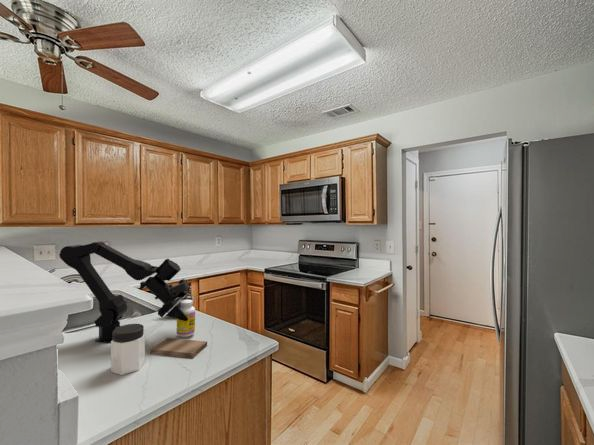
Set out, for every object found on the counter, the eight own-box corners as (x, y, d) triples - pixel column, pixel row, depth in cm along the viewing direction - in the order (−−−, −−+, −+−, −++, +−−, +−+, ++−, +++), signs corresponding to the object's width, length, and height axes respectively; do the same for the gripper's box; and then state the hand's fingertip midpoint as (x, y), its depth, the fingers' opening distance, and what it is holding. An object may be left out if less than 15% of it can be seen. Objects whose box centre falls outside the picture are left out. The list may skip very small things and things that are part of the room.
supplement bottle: (190, 338, 104) (190, 304, 103) (173, 337, 104) (173, 303, 104) (197, 330, 110) (198, 299, 110) (181, 330, 111) (182, 298, 110)
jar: (105, 371, 82) (105, 331, 82) (130, 358, 90) (130, 321, 90) (126, 377, 79) (126, 336, 79) (150, 363, 86) (150, 325, 86)
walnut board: (150, 353, 93) (150, 349, 93) (167, 341, 102) (167, 337, 102) (193, 358, 90) (193, 353, 90) (207, 345, 99) (207, 341, 99)
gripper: (167, 279, 97) (199, 310, 98) (183, 269, 116) (210, 295, 117) (143, 302, 96) (176, 332, 98) (163, 288, 115) (190, 314, 116)
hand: (189, 317), depth 107 cm, fingers closed on supplement bottle, 7 cm apart
